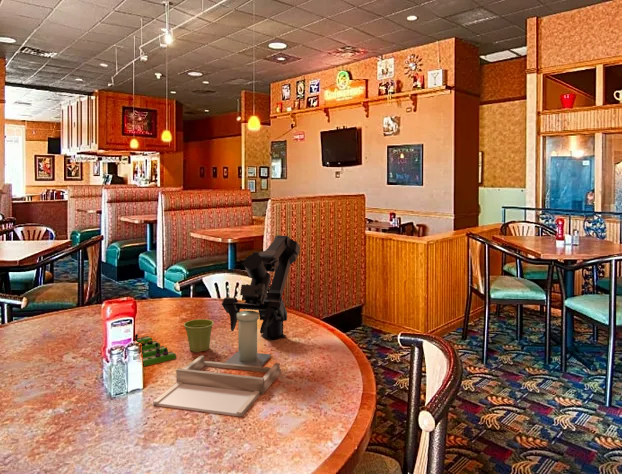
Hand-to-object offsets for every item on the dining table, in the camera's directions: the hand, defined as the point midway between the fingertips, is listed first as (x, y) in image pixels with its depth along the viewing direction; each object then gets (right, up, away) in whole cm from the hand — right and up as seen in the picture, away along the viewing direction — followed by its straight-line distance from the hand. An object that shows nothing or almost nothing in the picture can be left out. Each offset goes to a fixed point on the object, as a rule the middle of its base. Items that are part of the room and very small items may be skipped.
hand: (246, 331), depth 148 cm
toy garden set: (-37, -9, +7) cm, 38 cm away
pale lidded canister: (0, -9, +2) cm, 9 cm away
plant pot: (-17, -8, +13) cm, 22 cm away
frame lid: (-7, -12, -24) cm, 28 cm away
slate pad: (0, -9, +2) cm, 10 cm away
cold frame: (-3, -11, -10) cm, 15 cm away
